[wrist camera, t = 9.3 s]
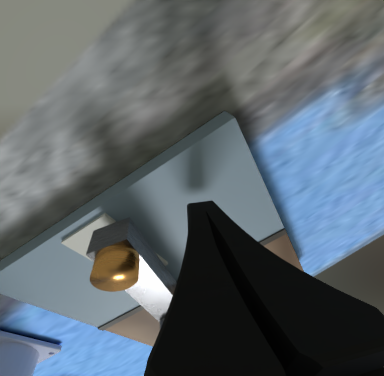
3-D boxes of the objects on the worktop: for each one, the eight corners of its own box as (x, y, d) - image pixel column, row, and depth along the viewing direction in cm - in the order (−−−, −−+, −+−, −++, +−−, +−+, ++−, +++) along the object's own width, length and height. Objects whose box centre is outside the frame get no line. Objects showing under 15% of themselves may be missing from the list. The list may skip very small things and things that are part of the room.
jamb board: (158, 333, 23) (159, 349, 22) (101, 309, 18) (97, 328, 17) (297, 264, 21) (307, 278, 19) (273, 214, 16) (285, 229, 14)
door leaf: (101, 309, 18) (97, 330, 17) (-7, 264, 13) (-25, 289, 12) (273, 214, 16) (286, 230, 14) (224, 110, 10) (236, 118, 9)
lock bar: (191, 292, 16) (200, 337, 14) (165, 302, 16) (168, 348, 14) (134, 206, 10) (129, 256, 8) (93, 222, 10) (74, 276, 8)
